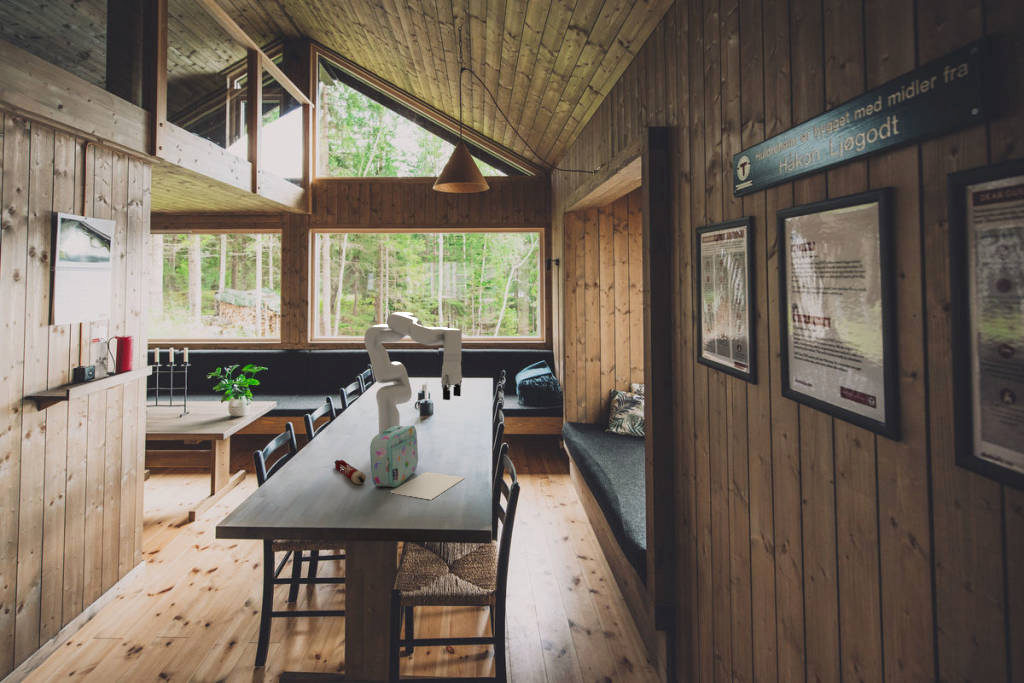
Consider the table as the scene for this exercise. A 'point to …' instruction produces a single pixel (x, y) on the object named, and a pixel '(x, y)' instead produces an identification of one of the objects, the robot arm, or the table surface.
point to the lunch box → (393, 455)
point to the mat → (427, 485)
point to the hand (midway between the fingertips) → (451, 397)
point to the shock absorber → (350, 472)
